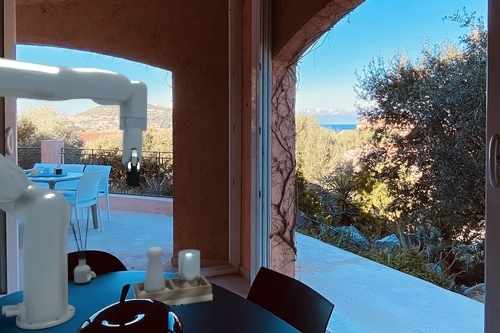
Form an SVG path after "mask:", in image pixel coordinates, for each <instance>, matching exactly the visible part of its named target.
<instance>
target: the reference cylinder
mask: <svg viewBox="0 0 500 333" xmlns="http://www.w3.org/2000/svg"><path fill="white" fill-rule="evenodd" d="M177 256H178V257H177V258H178V260H177V261H178V263H177V264H178V272H177V273H178V275H177V276H178V289H182V288H189V287H197V286H200V275H201V251H200V250H199V249H198V250H197V249H182V250H180V251H179V252H178V255H177Z"/></svg>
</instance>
